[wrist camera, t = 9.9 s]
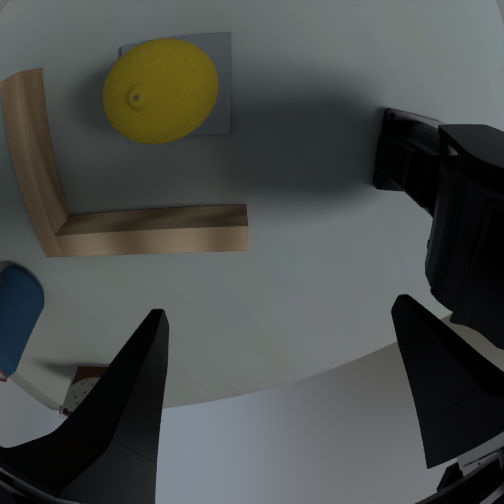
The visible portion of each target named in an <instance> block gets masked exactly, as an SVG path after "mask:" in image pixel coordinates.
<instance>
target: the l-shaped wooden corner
mask: <svg viewBox="0 0 504 504" xmlns="http://www.w3.org/2000/svg"><path fill="white" fill-rule="evenodd" d="M0 85H1V97H2V106H3V114H4V121H5V127H6V133H7V138H8V143H9V148H10V153H11V157H12V161H13V165H14V169H15V173H16V176H17V180H18V183H19V187H20V190H21V193H22V196H23V199H24V202H25V205H26V208H27V211H28V214H29V217H30V219H31V222H32V225H33V227H34V230H35V232H36V235H37V237H38V240H39V242H40V244H41V247H42V249H43V251H44V253H45V256H46V257H67V256H97V255H128V254H159V253H190V252H222V251H248V219H247V209H246V205H220V206H196V207H176V208H159V209H145V210H131V211H119V212H107V213H97V214H87V215H77V216H70V213H69V210H68V207H67V204H66V201H65V197H64V194H63V190H62V187H61V183H60V179H59V175H58V171H57V167H56V163H55V158H54V154H53V149H52V144H51V139H50V133H49V128H48V121H47V115H46V107H45V99H44V89H43V76H42V68H39V69H33V70H28V71H22V72H18V73H16V74H14V75H12V76H10V77H9V78H7V79H5V80H4V81H2V82H0Z"/></svg>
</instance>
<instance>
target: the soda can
mask: <svg viewBox="0 0 504 504" xmlns="http://www.w3.org/2000/svg"><path fill="white" fill-rule="evenodd" d="M43 307H44V290H43V287H42V285H41V283H40V281H39V280H38V279H37V277H36V276H35V275H34V274H33V273H32V272H31V271H29V270H28V269H27V268H25V267H23V266H20V265H13V266H10V267H7V268H4V269H3V270H2V271H1V273H0V381H2V382H6V381H7V378H8V377H9V376H10V375H12V374H13V373H14V372H15V371H16V369H17V366H18V364H19V361H20V358H21V356H22V353H23V351H24V349H25V346H26V344H27V342H28V339H29V337H30V335H31V332H32V330H33V328H34V326H35V324H36V322H37V320H38V318H39V315H40V313H41V311H42V309H43Z"/></svg>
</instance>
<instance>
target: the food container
mask: <svg viewBox="0 0 504 504" xmlns="http://www.w3.org/2000/svg"><path fill="white" fill-rule="evenodd" d="M108 366H109V365H86V364H77V367H76V369H75V372H74V375H73V377H72V380H71V383H70V386H69V389H68V391H67V394H66V397H65V400H64V403H63V406H61V405H60V410H59V414H60V418H62V419H63V420H66V419H67V418H68V416H69V415H70V414H71V413H72V412H73V411H74V410H75V409H76V407H77V406H78V405H79V404H80V403H81V402H82V400H83V399H84V398H85V397H86V396H87V395H88V393H89V392H90V391H91V389H92V388H93V387H94V385H95V384H96V383H97V381H98V380H99V379H100V378H101V376H102V374H103V373H104V372H105V370H106V369H107V368H108Z"/></svg>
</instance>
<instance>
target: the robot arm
mask: <svg viewBox="0 0 504 504" xmlns="http://www.w3.org/2000/svg"><path fill="white" fill-rule="evenodd" d="M390 113H392V117H391V118H390V116H389V115H390ZM379 181H381V182H380V184H378V185H377V183H378V182H379ZM373 186H374V187H375V188H376V189H378V190H391V191H403V192H405V193H406V194H407V195H409V196H410V197H411V198H412V199H413V200H414V201H415V202H416V203H417V204H418V205H419V206H420V207H422V208H423V209H425V210H426V211H427V212H428V213H429V214H430V215H431V216H432V217H433V221H432V228H431V233H430V239H429V240H428V243H427V249H428V251H427V256H426V260H425V275H426V277H427V280H428V282H429V285H430V287H431V289H430V292H431V294H432V295H433V296H434V297H435V298H436V300H437V301H438V302H439V303H441V304H442V305H443V306H445V307H446V308H447V309H449V310H450V311H452V312H453V313H452V315H451V317H450V322H451V323H454V324H459V325H465V326H467V327H469V328H472V329H474V330H476V331H478V332H479V333H480V334H482V335H483V336H484V337H486V338H487V339H488V340H489V341H490V342H491V343H492V344H493V345H495V346H496V347H497V348H500V349H503V350H504V132H503V131H501V130H498V129H496V128H493V127H491V126H488V125H480V124H445V123H443V122H440V121H436V120H433V119H430V118H426V117H423V116H419V115H415V114H412V113H408V112H404V111H399V110H395V109H391V108H388V109H386V110H385V112H384V117H383V125H382V131H381V134H380V136H379V142H378V148H377V153H376V159H375V172H374V177H373ZM391 315H392V319H393V323H394V327H395V332H396V337H397V341H398V345H399V349H400V352H401V355H402V359H403V362H404V365H405V369H406V372H407V376H408V380H409V383H410V387H411V391H412V395H413V398H414V403H415V407H416V411H417V416H418V420H419V425H420V431H421V436H422V441H423V446H424V452H425V459H426V465H427V469H430V468H432V467H435V466H437V465H440V464H442V463H444V462H447V461H449V460H451V459H453V458H456V457H457V462H456V463H454V464H452V465H450V466H449V467H447V468H446V470H445V473H444V475H443V477H442V479H441V481H440V483H439V486H438V487H437V493H435V494H433V495H431V496H429V497H427V498H425V499H423V500H422V501H419V502H417V503H415V504H504V372H503V371H502V370H500V369H499V368H498V367H496V366H495V365H494V364H492V363H491V362H490V361H489V360H487V359H486V358H485V357H483V356H482V355H481V354H480V353H478V352H477V351H476V350H475V349H474V348H472V347H471V346H470V345H469V344H468V343H466V341H464V340H463V339H462V338H461V337H460V336H459V335H457V334H456V333H455V332H454V331H453V330H451V329H450V328H449V327H448V326H447V325H445V324H444V323H443V322H442V321H441V320H440V319H438V318H437V317H436V316H435V315H433V314H432V313H431V312H430V311H428V310H427V309H426V308H425V307H423V306H422V305H421V304H420V303H418V302H417V301H416V300H415V299H413V298H412V297H411V296H409V295H408V294H402V295H399V296H398V297H397V299H396V301H395V303H394V305H393V307H392V309H391ZM168 343H169V323H168V320H167V317H166V314H165V311H164V310H163V309H152V310H151V311H150V313H149V314H148V315H147V317H146V318H145V319H144V320H143V322H142V323H141V324H140V325H139V327H138V328H137V329H136V331H135V332H134V333H133V335H132V336H131V337H130V338H129V340H128V341H127V342H126V344H125V345H124V346H123V348H122V349H121V350H120V352H119V353H118V354H117V356H116V357H115V358H114V360H113V361H112V362H111V364H110V365H109V366H108V368H107V369H106V370H105V372H104V373H103V374H102V376H101V378H100V379H99V380H98V381H97V383H96V384H95V385H94V387H93V388H92V389H91V391H90V392H89V393H88V395H87V396H86V397H85V398H84V399H83V400H82V402H81V403H80V404H79V405H78V406H77V407H76V409H75V410H74V411H73V412H72V413H71V414H70V415H69V416H68V418H67V419H66V420H65V421H64V422H63V423H62V424H61V426H59V427H58V429H56V430H55V431H54V432H52V433H50V434H48V435H46V436H43V437H40V438H38V439H35V440H32V441H29V442H26V443H24V444H21V445H18V446H15V447H11V448H4V447H2V446H0V468H2V469H3V470H2V469H0V504H155V489H156V488H155V487H156V470H157V455H158V442H159V433H160V423H161V414H162V405H163V397H164V390H165V382H166V375H167V367H168ZM4 470H5V471H4Z"/></svg>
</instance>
